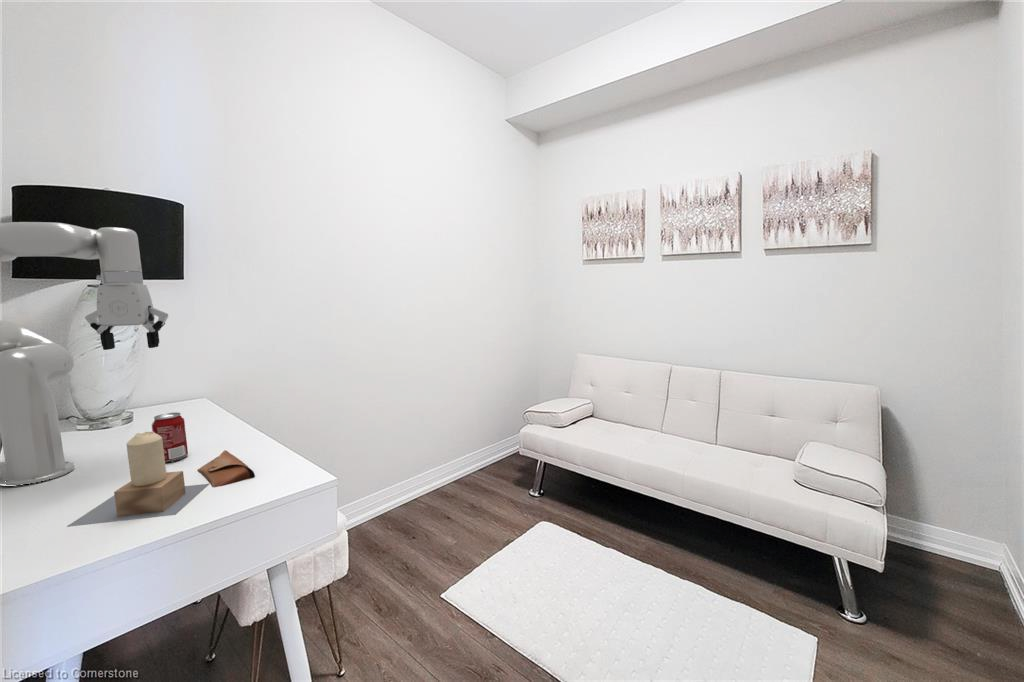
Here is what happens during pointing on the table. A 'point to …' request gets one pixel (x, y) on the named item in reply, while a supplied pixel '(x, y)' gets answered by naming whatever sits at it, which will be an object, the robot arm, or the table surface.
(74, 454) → the table surface
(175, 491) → the block
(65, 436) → the table surface
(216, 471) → the sunglasses case
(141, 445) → the candle
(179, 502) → the mat
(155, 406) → the table surface
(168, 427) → the soda can
